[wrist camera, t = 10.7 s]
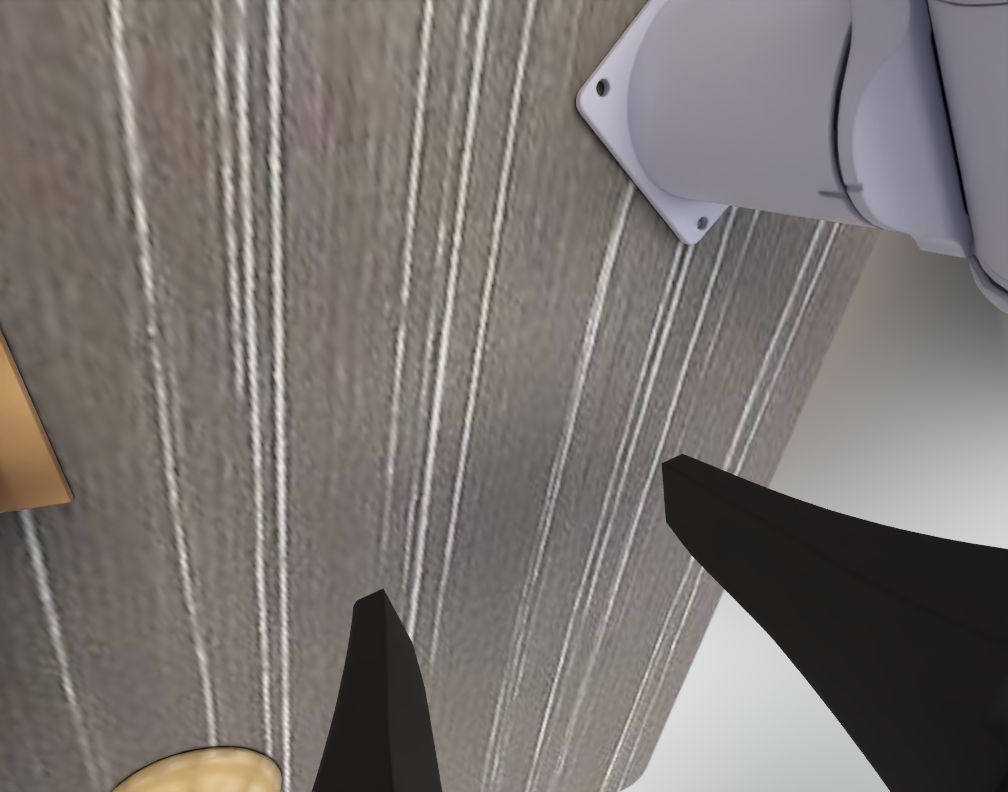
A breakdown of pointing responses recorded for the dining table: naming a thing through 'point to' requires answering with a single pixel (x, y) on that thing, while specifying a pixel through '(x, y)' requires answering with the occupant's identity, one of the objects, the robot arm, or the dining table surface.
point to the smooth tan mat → (25, 447)
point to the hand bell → (207, 773)
